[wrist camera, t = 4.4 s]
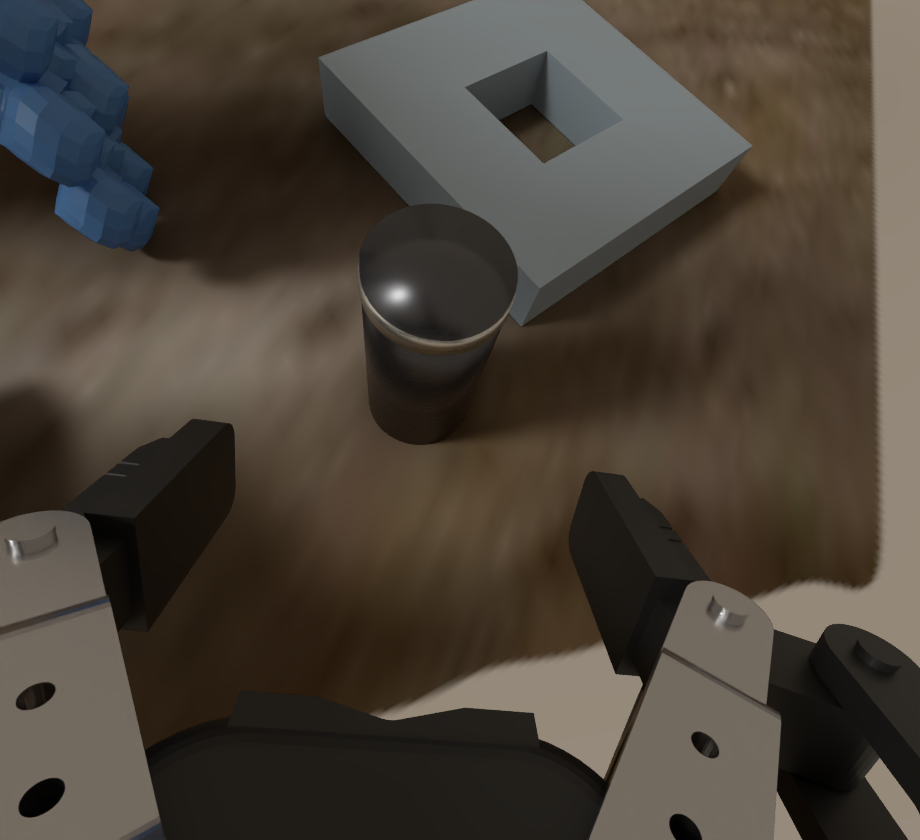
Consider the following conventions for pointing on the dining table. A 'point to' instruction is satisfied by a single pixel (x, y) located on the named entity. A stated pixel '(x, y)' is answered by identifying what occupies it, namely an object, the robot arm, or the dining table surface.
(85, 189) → the grapes
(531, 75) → the holder
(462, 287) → the metal cylinder
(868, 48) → the dining table surface
